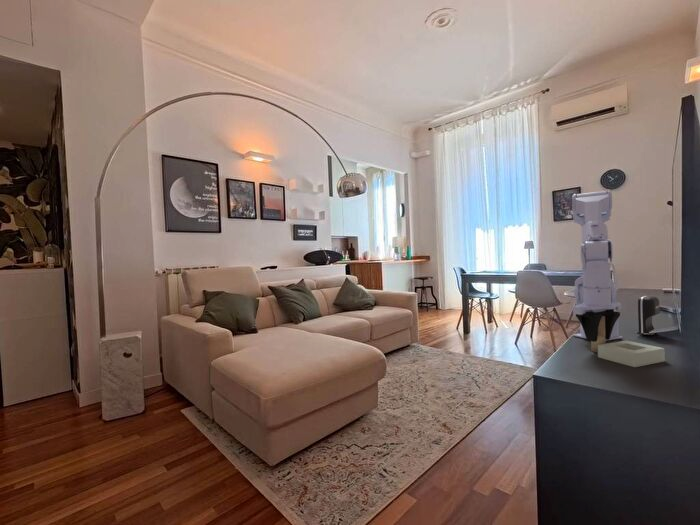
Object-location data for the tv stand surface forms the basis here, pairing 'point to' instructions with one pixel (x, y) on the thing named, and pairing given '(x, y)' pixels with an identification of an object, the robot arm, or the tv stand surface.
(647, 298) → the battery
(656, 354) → the hole block
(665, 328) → the tv stand surface
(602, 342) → the peg
